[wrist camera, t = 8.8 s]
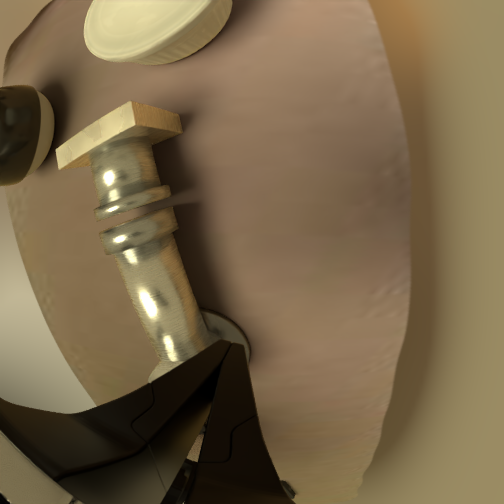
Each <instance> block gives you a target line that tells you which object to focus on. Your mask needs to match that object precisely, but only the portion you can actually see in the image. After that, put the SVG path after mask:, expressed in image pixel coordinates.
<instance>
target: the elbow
mask: <svg viewBox="0 0 504 504" xmlns="http://www.w3.org/2000/svg"><path fill="white" fill-rule="evenodd" d="M178 228H179V227H178V224H177V220H176V217H175V214H174V210H173V207H172V206H171V207H168V208H164V209H161V210H158V211H155V212H152V213H149V214H146V215H143V216H140V217H137V218H134V219H131V220H129V221H126V222H123V223H121V224H118V225H115V226H113V227H110V228H108V229H106V230H103V231H101V232H99V236H100V239H101V242H102V245H103V248H104V251H105V253H106V255H111V254H113V255H114V257H115V260H116V263H117V266H118V268H119V271H120V274H121V276H122V279H123V281H124V284H125V286H126V289H127V291H128V294H129V296H130V298H131V301H132V303H133V305H134V308H135V310H136V312H137V314H138V317H139V319H140V321H141V323H142V325H143V328H144V330H145V332H146V334H147V336H148V338H149V340H150V342H151V344H152V346H153V348H154V350H155V352H156V354H157V356H158V358H159V360H160V362H159V363H158V365H157V366H156V368H155V369H154V370H153V372H152V373H151V375H150V376H149V379H148V383H151V381H153V380H155V379H156V378H158V377H160V376H161V375H163V374H165V373H166V372H168V371H170V370H171V369H173V368H175V367H176V366H178V365H180V364H181V363H183V362H185V361H186V360H188V359H189V358H191V357H193V356H194V355H196V354H197V353H199V352H201V351H202V350H204V349H205V348H207V347H208V346H210V345H212V344H213V343H215V342H216V341H218V340H219V339H222V338H221V337H220V336H218V335H217V334H215V333H213V332H211V331H209V330H207V329H206V326H205V323H204V321H203V318H202V316H201V313H200V310H199V308H198V305H197V302H196V300H195V297H194V294H193V291H192V289H191V286H190V283H189V280H188V277H187V275H186V272H185V269H184V266H183V263H182V260H181V257H180V254H179V251H178V248H177V245H176V242H175V239H174V235H173V232H174V231H175V230H177V229H178Z"/></svg>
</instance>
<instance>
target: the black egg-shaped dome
mask: <svg viewBox="0 0 504 504" xmlns="http://www.w3.org/2000/svg"><path fill="white" fill-rule="evenodd" d="M53 134H54V113H53V109H52V107H51V104H50V102H49V101H48V99H47V98H46V97H45V96H44V95H43V94H42V93H40V92H38V91H36V90H35V89H34V88H33V87H32V86H29V85H13V86H6V87H1V88H0V186H9V185H14V184H17V183H19V182H21V181H22V180H23V179H24V178H25V177H27V176H28V175H30V174H31V173H33V172H34V171H35V170H36V169H37V168H38V167H39V166H40V165H41V163H42V162H43V161H44V159H45V157H46V155H47V154H48V151H49V149H50V146H51V143H52V139H53Z"/></svg>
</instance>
